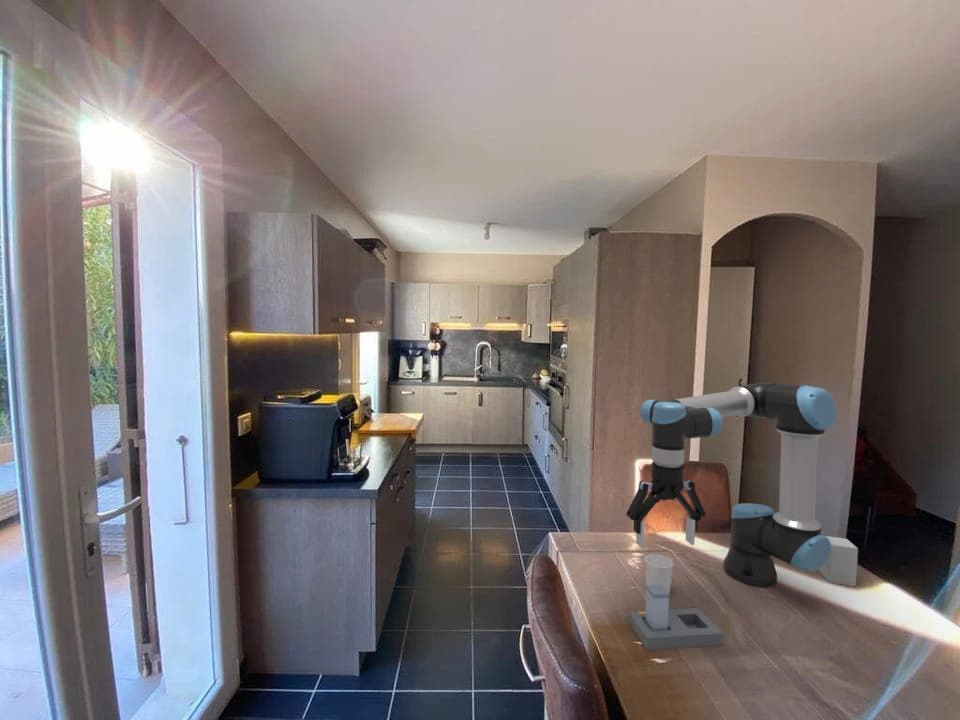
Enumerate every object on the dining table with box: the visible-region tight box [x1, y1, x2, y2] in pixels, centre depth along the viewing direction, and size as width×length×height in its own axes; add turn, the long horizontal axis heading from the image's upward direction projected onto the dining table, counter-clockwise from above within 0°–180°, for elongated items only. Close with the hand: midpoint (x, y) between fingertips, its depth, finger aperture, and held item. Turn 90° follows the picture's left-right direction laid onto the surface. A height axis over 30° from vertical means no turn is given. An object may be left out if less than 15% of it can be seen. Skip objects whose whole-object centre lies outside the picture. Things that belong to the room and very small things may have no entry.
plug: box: [644, 585, 670, 631], centre depth 110 cm, size 4×4×12 cm
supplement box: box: [818, 535, 859, 587], centre depth 139 cm, size 7×7×13 cm
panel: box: [628, 607, 724, 651], centre depth 111 cm, size 20×10×4 cm, turn 96°
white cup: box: [644, 553, 674, 594], centre depth 130 cm, size 8×8×10 cm
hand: (665, 543), depth 110 cm, fingers open, 13 cm apart
